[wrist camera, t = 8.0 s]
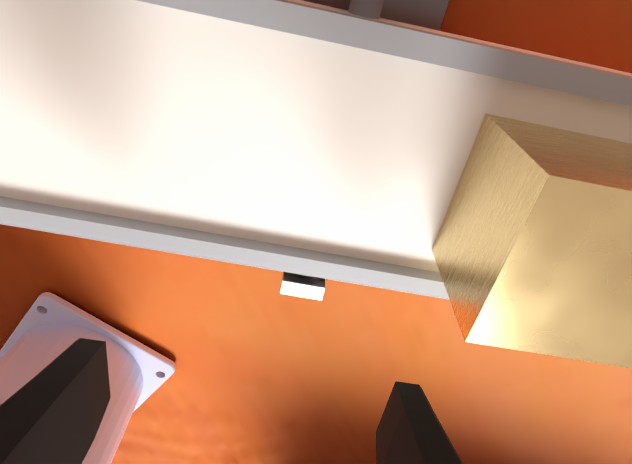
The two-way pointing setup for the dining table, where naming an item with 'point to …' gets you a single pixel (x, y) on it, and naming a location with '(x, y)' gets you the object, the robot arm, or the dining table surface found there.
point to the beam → (265, 128)
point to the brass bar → (542, 243)
